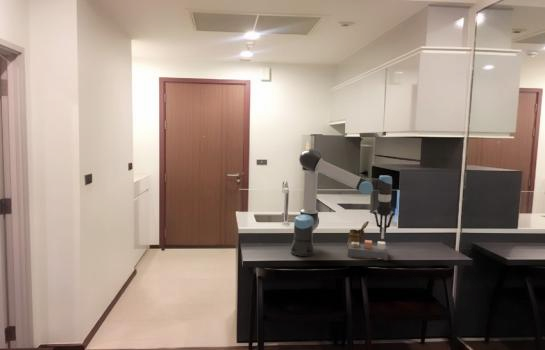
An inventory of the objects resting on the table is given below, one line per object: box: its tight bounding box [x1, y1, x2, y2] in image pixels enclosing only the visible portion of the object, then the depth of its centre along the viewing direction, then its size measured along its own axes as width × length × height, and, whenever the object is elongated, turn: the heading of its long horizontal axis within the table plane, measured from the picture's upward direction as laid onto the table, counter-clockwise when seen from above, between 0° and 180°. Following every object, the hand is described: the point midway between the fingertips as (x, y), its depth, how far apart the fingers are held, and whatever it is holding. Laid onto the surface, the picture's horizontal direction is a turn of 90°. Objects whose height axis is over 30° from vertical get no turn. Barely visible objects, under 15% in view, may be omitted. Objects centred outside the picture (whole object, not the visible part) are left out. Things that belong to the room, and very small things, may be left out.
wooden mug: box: [346, 221, 370, 248], centre depth 268 cm, size 9×14×18 cm, turn 87°
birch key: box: [351, 242, 359, 248], centre depth 255 cm, size 4×4×5 cm
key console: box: [347, 243, 389, 259], centre depth 253 cm, size 24×12×5 cm, turn 77°
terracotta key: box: [364, 239, 373, 249], centre depth 253 cm, size 4×4×5 cm
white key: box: [376, 240, 386, 250], centre depth 251 cm, size 4×4×5 cm
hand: (382, 238), depth 250 cm, fingers closed
